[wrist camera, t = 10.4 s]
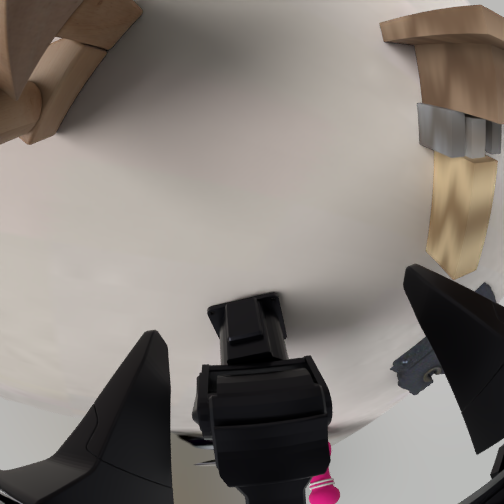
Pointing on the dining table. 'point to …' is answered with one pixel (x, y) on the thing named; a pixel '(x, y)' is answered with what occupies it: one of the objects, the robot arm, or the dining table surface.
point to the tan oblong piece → (462, 203)
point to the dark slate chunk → (424, 359)
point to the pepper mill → (323, 488)
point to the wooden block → (52, 58)
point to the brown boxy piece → (455, 73)
